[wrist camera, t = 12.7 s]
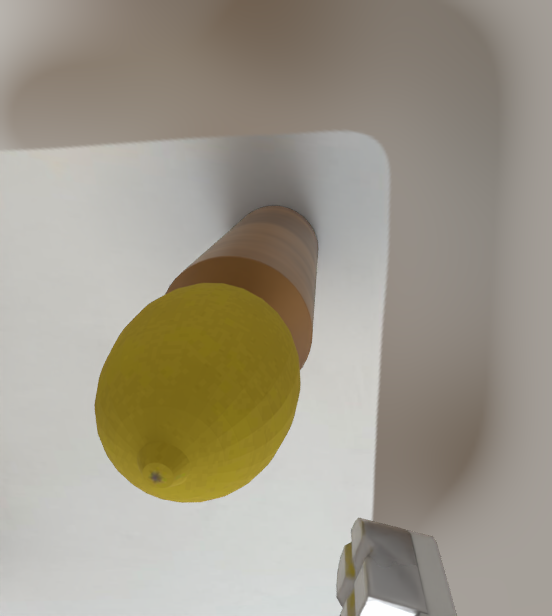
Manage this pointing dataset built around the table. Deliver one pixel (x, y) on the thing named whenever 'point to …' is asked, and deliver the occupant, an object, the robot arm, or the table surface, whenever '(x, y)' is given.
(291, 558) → the table surface
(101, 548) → the table surface
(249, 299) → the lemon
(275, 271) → the stand
